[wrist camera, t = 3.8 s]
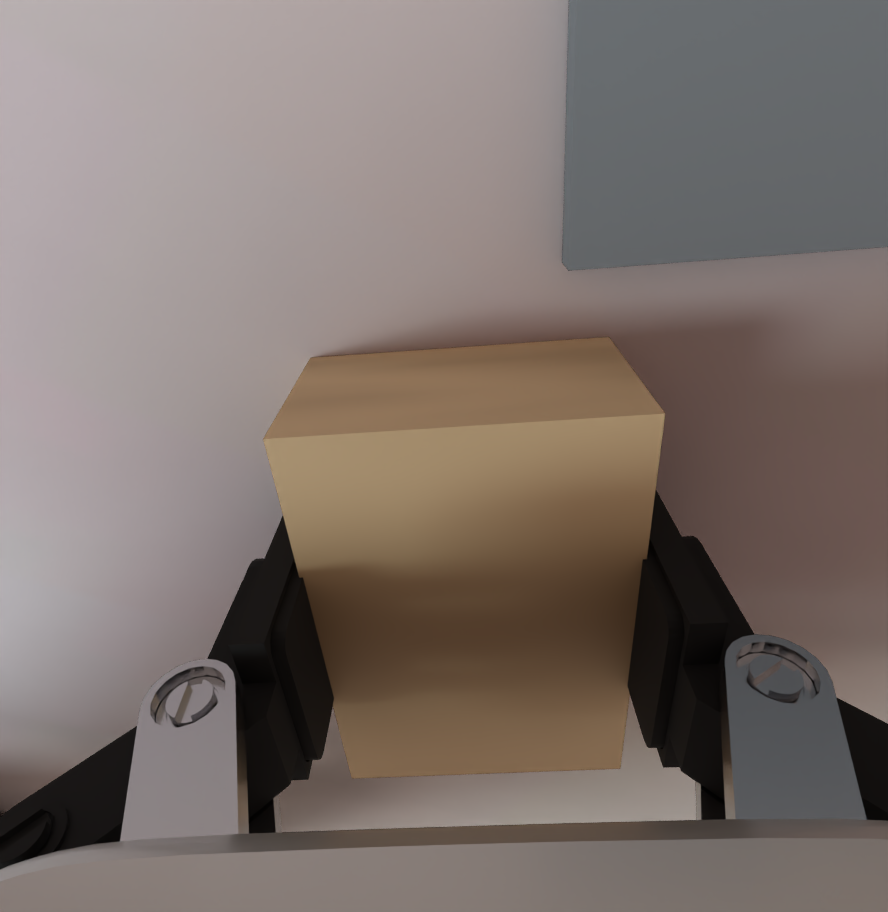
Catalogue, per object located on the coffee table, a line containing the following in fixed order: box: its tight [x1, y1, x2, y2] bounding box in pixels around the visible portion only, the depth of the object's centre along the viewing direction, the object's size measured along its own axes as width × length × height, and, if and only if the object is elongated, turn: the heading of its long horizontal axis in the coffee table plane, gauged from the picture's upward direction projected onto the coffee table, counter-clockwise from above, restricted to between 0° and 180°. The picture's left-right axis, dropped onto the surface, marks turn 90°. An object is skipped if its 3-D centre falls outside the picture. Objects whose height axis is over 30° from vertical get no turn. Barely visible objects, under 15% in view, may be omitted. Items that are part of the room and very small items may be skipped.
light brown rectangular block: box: [263, 337, 665, 779], centre depth 11 cm, size 8×6×3 cm
